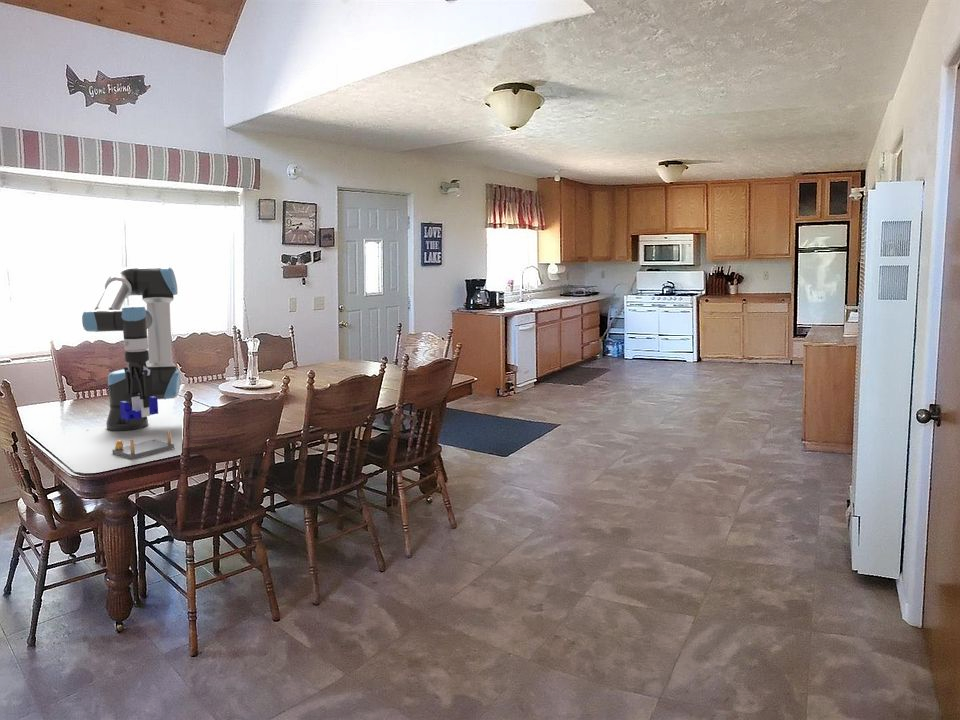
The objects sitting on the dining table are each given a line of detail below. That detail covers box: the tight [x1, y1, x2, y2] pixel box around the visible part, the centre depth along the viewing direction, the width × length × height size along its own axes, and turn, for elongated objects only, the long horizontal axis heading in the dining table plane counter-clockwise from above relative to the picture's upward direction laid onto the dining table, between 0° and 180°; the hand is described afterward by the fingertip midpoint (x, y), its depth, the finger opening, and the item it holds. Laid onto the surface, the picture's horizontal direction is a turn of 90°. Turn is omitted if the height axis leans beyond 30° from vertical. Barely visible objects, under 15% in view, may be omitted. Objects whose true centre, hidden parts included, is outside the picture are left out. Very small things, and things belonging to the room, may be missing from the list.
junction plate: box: [111, 430, 175, 460], centre depth 254 cm, size 12×16×6 cm
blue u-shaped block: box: [120, 396, 159, 420], centre depth 252 cm, size 12×4×6 cm, turn 145°
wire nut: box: [114, 439, 124, 450], centre depth 251 cm, size 2×2×3 cm
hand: (141, 415), depth 252 cm, fingers closed on blue u-shaped block, 5 cm apart
